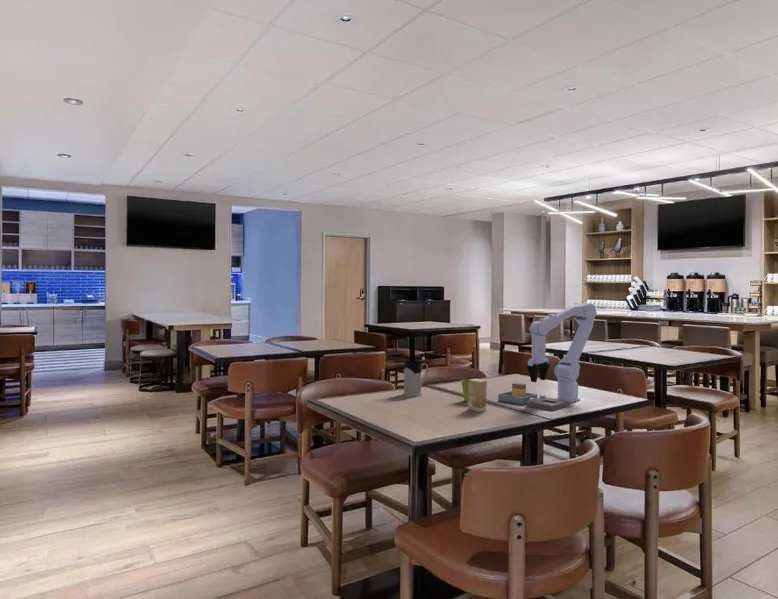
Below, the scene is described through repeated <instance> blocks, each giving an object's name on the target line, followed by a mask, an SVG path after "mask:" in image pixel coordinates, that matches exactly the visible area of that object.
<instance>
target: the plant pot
mask: <svg viewBox="0 0 778 599" xmlns="http://www.w3.org/2000/svg"><path fill="white" fill-rule="evenodd" d="M469 380H470V379H462V380H460V383H461V387H462V394H463V401H464V402H466V403H468V387H469Z"/></svg>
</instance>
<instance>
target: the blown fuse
mask: <svg viewBox="0 0 778 599" xmlns="http://www.w3.org/2000/svg"><path fill="white" fill-rule="evenodd" d="M511 391H512V396H515V397H522V398H523V397H526V393H527V383H521V382H513V383H511Z"/></svg>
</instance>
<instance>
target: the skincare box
mask: <svg viewBox="0 0 778 599" xmlns="http://www.w3.org/2000/svg"><path fill="white" fill-rule="evenodd" d="M468 380H469V387H468V402H467V410H470V411H474V412H477V413H481V412H486V411H487V389H488V388H487V387H488V386H487V385H488V384H487V382H488V381H487V380H484V379H479V378H471V379H468Z"/></svg>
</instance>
